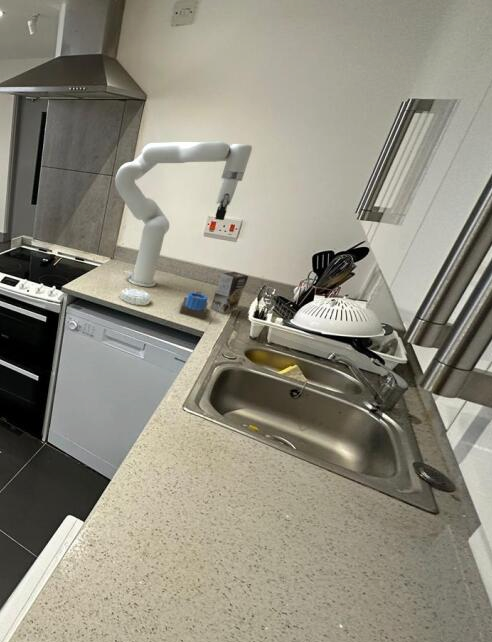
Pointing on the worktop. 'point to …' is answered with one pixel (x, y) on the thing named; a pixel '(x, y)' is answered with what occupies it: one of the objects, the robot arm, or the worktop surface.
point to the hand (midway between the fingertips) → (219, 217)
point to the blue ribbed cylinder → (196, 301)
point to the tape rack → (193, 312)
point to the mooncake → (135, 296)
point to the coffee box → (229, 292)
